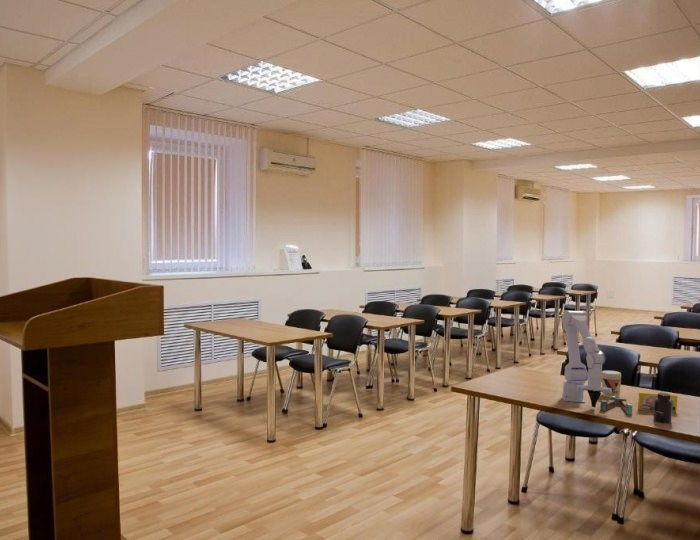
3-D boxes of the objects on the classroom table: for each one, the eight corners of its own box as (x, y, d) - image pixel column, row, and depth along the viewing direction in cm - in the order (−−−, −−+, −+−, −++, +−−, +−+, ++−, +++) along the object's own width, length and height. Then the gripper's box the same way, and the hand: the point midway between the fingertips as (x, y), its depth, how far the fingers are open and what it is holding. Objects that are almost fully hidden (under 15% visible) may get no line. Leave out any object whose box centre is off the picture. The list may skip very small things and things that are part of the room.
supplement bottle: (654, 422, 235) (656, 394, 234) (652, 417, 241) (653, 391, 241) (672, 424, 232) (674, 396, 232) (669, 420, 239) (671, 393, 238)
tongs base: (616, 413, 246) (616, 403, 246) (609, 403, 263) (609, 394, 263) (633, 415, 244) (633, 405, 244) (625, 404, 261) (625, 395, 261)
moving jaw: (600, 410, 250) (600, 401, 250) (610, 405, 259) (611, 396, 259) (604, 411, 249) (605, 401, 249) (615, 406, 257) (615, 397, 257)
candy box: (639, 410, 253) (640, 392, 252) (637, 409, 255) (638, 391, 254) (676, 413, 250) (677, 395, 250) (674, 411, 252) (675, 394, 252)
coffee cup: (601, 396, 274) (601, 373, 274) (600, 392, 283) (600, 369, 283) (621, 398, 271) (622, 374, 271) (620, 394, 280) (620, 371, 279)
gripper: (579, 378, 249) (577, 407, 250) (613, 381, 245) (612, 410, 246) (577, 374, 256) (575, 403, 257) (610, 377, 252) (609, 406, 253)
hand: (593, 406), depth 252 cm, fingers closed
